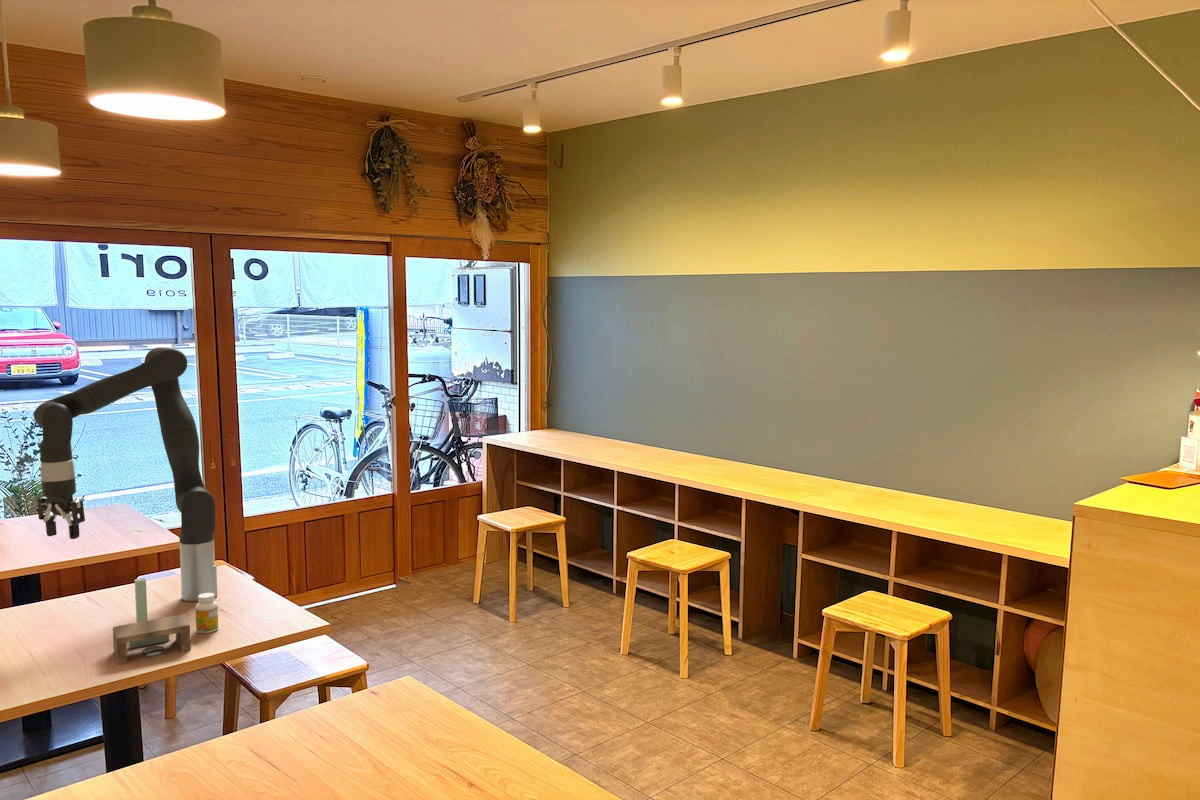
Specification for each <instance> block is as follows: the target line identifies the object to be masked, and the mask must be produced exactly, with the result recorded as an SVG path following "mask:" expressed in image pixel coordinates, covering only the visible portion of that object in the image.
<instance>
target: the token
mask: <svg viewBox="0 0 1200 800" xmlns="http://www.w3.org/2000/svg"><path fill="white" fill-rule="evenodd" d="M165 650H166V649H165V646H162V645H154V646H153V645H151V646H148V647H145V648H143V649H141V657H144V658H155V657H158V656H161V655H163V654H164V653H165V652H166V651H165Z"/></svg>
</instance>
